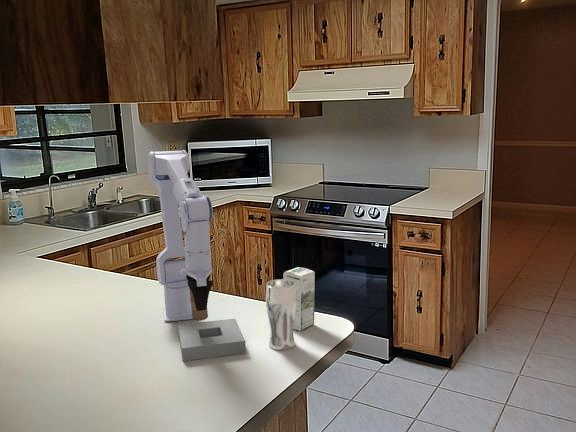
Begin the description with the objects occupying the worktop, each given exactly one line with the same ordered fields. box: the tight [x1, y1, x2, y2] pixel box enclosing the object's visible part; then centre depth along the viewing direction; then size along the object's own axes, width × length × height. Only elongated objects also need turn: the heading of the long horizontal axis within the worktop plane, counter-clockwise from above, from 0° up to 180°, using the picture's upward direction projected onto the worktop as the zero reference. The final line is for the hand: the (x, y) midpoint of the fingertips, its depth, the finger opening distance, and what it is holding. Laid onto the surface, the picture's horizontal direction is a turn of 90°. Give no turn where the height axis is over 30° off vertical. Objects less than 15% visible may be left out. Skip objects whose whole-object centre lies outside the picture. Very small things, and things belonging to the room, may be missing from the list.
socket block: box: [177, 318, 246, 362], centre depth 128 cm, size 14×14×3 cm
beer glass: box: [265, 278, 296, 351], centre depth 126 cm, size 7×7×15 cm
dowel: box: [189, 288, 209, 322], centre depth 126 cm, size 4×4×8 cm
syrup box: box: [282, 266, 316, 332], centre depth 137 cm, size 6×6×14 cm
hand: (200, 307), depth 126 cm, fingers closed on dowel, 4 cm apart
